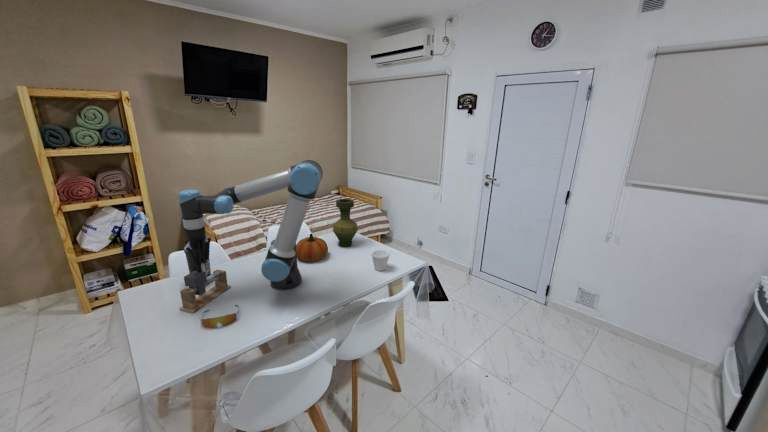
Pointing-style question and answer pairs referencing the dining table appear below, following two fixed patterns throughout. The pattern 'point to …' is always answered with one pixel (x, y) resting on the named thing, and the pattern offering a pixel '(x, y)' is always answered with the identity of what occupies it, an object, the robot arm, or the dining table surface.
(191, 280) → the collar
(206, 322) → the sunglasses
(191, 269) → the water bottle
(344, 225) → the vase
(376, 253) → the cup
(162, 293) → the dining table surface
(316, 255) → the pumpkin
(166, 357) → the dining table surface
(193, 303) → the rail
